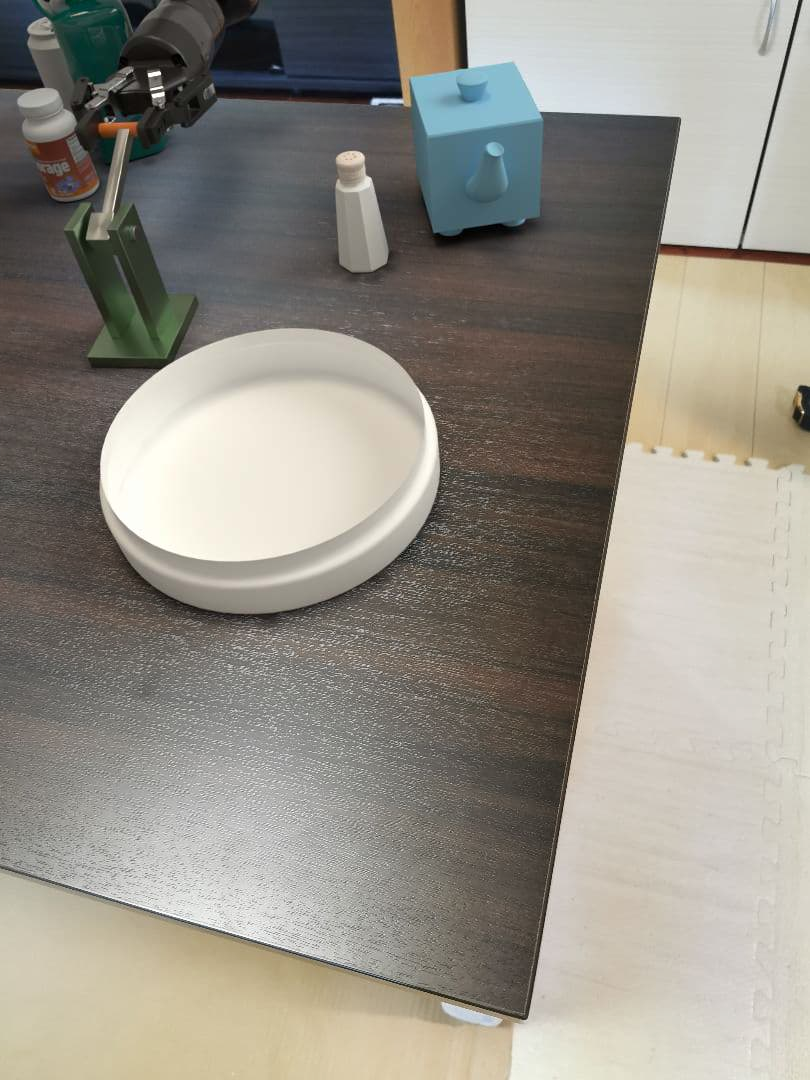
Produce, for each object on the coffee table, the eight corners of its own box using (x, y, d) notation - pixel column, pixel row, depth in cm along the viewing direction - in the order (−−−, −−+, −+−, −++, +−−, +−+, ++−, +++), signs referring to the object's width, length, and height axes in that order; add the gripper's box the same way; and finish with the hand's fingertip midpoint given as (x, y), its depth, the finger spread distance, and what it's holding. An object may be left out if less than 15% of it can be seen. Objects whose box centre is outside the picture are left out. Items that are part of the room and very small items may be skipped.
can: (96, 134, 112) (59, 36, 102) (49, 130, 114) (9, 33, 104) (125, 107, 116) (92, 11, 107) (79, 104, 118) (43, 9, 109)
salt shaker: (396, 266, 87) (385, 162, 78) (346, 279, 86) (329, 176, 77) (381, 239, 90) (368, 137, 81) (333, 251, 89) (315, 150, 81)
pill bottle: (40, 201, 102) (-2, 108, 93) (67, 175, 105) (29, 83, 97) (84, 205, 100) (45, 111, 92) (110, 179, 104) (74, 85, 95)
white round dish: (63, 603, 63) (32, 560, 59) (172, 367, 80) (153, 320, 75) (418, 628, 59) (411, 583, 55) (455, 373, 75) (453, 323, 71)
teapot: (414, 173, 98) (403, 45, 87) (508, 158, 98) (509, 29, 87) (443, 281, 84) (435, 146, 73) (553, 265, 84) (560, 127, 74)
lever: (108, 134, 79) (96, 115, 77) (158, 132, 78) (147, 113, 76) (84, 255, 76) (70, 240, 74) (135, 255, 75) (123, 239, 73)
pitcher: (157, 124, 112) (95, -72, 95) (171, 151, 107) (108, -51, 90) (85, 144, 110) (9, -52, 93) (95, 172, 105) (17, -30, 88)
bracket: (125, 303, 87) (77, 186, 77) (199, 303, 86) (159, 184, 76) (91, 366, 81) (33, 248, 71) (169, 368, 80) (122, 248, 70)
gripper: (89, 20, 83) (20, 100, 73) (227, 12, 81) (176, 94, 71) (116, 97, 89) (56, 182, 79) (245, 92, 87) (201, 178, 77)
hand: (113, 139), depth 75 cm, fingers closed on lever, 5 cm apart
